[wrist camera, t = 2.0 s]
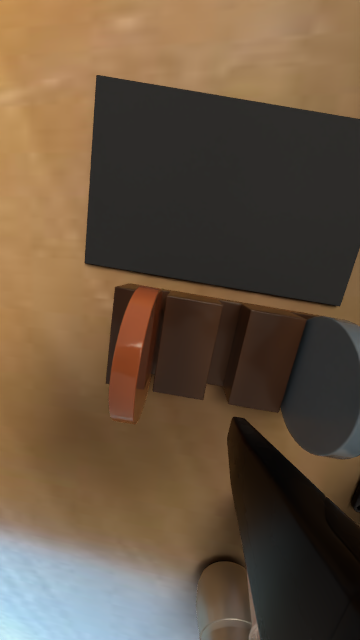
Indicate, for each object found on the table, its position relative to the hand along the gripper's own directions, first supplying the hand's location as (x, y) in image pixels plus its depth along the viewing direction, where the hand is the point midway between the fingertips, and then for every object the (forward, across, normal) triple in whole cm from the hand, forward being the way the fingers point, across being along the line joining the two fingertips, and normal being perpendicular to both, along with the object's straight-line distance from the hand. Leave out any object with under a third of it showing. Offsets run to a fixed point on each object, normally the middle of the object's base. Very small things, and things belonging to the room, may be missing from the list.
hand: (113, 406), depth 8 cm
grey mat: (+10, -4, -10) cm, 15 cm away
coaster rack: (+10, -5, 0) cm, 12 cm away
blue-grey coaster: (+6, -11, 0) cm, 12 cm away
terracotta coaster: (+6, 0, 0) cm, 6 cm away
